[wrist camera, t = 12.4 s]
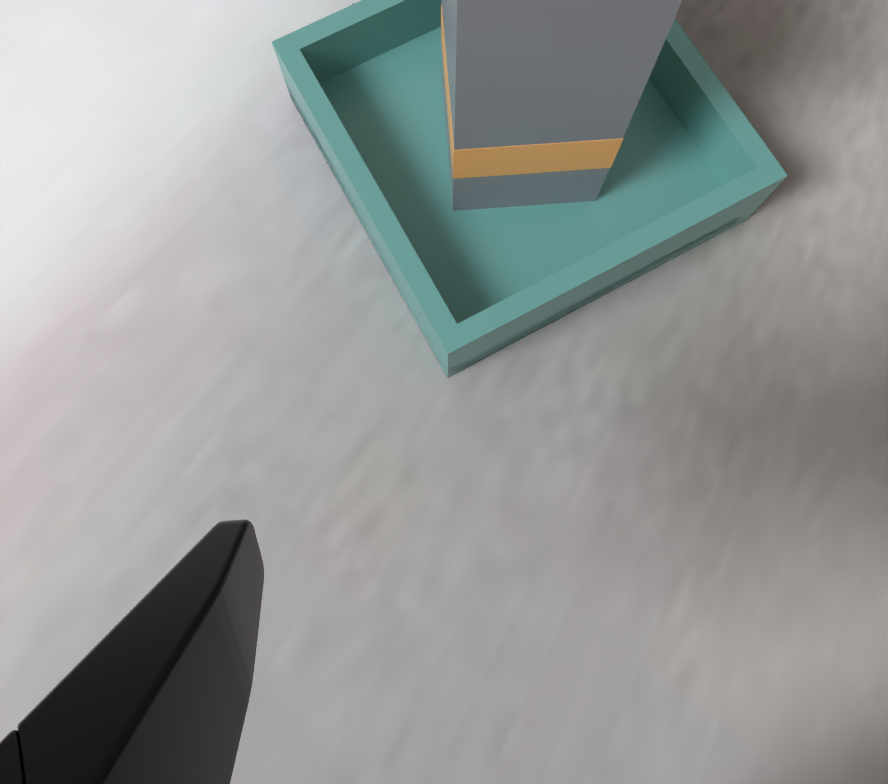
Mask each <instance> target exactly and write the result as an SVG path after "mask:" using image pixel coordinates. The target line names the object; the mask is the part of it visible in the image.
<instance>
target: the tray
mask: <svg viewBox="0 0 888 784" xmlns="http://www.w3.org/2000/svg"><path fill="white" fill-rule="evenodd" d="M441 5H442V0H362V1H360V2H357V3H355V4H353V5H351V6H349V7H347V8H344V9H342V10H340V11H338V12H336V13H333V14H331V15H329V16H327V17H325V18H323V19H320V20H318V21H316V22H314V23H312V24H310V25H307V26H305V27H303V28H301V29H299V30H296V31H294V32H292V33H290V34H288V35H286V36H283V37H281V38H279V39H277V40H275V41H273V42H272V44H273V47H274V50H275V53H276V56H277V59H278V62H279V64H280V67H281V70H282V73H283V76H284V79H285V82H286V85H287V88H288V91H289V93H290V96H291V99H292V101H293V102H294V104H295V106H296V108H297V109H298V111H299V113H300V115H301V117H302V118H303V120H304V122H305V124H306V126H307V127H308V129H309V131H310V133H311V134H312V136H313V138H314V140H315V142H316V143H317V145H318V147H319V149H320V151H321V152H322V154H323V156H324V158H325V159H326V161H327V163H328V165H329V167H330V168H331V170H332V172H333V174H334V176H335V177H336V179H337V181H338V183H339V184H340V186H341V188H342V190H343V192H344V193H345V195H346V197H347V199H348V200H349V202H350V204H351V206H352V208H353V209H354V211H355V213H356V215H357V217H358V218H359V220H360V222H361V224H362V225H363V227H364V229H365V231H366V233H367V234H368V236H369V238H370V240H371V242H372V243H373V245H374V247H375V249H376V250H377V252H378V254H379V256H380V258H381V259H382V261H383V263H384V265H385V267H386V268H387V270H388V272H389V274H390V275H391V277H392V279H393V281H394V283H395V284H396V286H397V288H398V290H399V291H400V293H401V295H402V297H403V299H404V300H405V302H406V304H407V306H408V308H409V309H410V311H411V313H412V315H413V316H414V318H415V320H416V322H417V324H418V325H419V327H420V329H421V331H422V333H423V334H424V336H425V338H426V340H427V341H428V343H429V345H430V347H431V349H432V350H433V352H434V354H435V356H436V358H437V359H438V361H439V363H440V365H441V366H442V368H443V370H444V372H445V374H446V375H447V377H450V376H451V375H453V374H455V373H457V372H459V371H461V370H463V369H465V368H467V367H469V366H470V365H472V364H474V363H476V362H478V361H480V360H482V359H484V358H486V357H487V356H489V355H491V354H493V353H495V352H497V351H499V350H501V349H503V348H504V347H506V346H508V345H510V344H512V343H514V342H516V341H518V340H520V339H521V338H523V337H525V336H527V335H529V334H531V333H533V332H535V331H537V330H538V329H540V328H542V327H544V326H546V325H548V324H550V323H552V322H554V321H556V320H557V319H559V318H561V317H563V316H565V315H567V314H569V313H571V312H573V311H574V310H576V309H578V308H580V307H582V306H584V305H586V304H588V303H590V302H591V301H593V300H595V299H597V298H599V297H601V296H603V295H605V294H607V293H608V292H610V291H612V290H614V289H616V288H618V287H620V286H622V285H624V284H625V283H627V282H629V281H631V280H633V279H635V278H637V277H639V276H641V275H643V274H644V273H646V272H648V271H650V270H652V269H654V268H656V267H658V266H660V265H661V264H663V263H665V262H667V261H669V260H671V259H673V258H675V257H677V256H678V255H680V254H682V253H684V252H686V251H688V250H690V249H692V248H694V247H695V246H697V245H699V244H701V243H703V242H705V241H707V240H709V239H711V238H712V237H714V236H716V235H718V234H720V233H722V232H724V231H726V230H728V229H729V228H731V227H733V226H735V225H737V224H739V223H741V222H743V221H745V220H747V219H748V218H749V217H750V216H751V215H752V214H753V213H754V212H755V211H756V210H757V208H758V207H759V206H760V205H761V204H762V203H763V202H764V201H765V200H766V199H767V198H768V197H769V195H770V194H771V193H772V192H773V191H774V190H775V189H776V188H777V187H778V186H779V185H780V184H781V182H782V181H783V180H784V179H785V178H786V177H787V176H788V175H787V174H786V172H785V171H784V169H783V168H782V167H781V165H780V164H779V162H778V161H777V160H776V158H775V157H774V155H773V154H772V153H771V151H770V150H769V148H768V147H767V146H766V144H765V143H764V142H763V140H762V139H761V137H760V136H759V135H758V133H757V132H756V130H755V129H754V128H753V126H752V125H751V123H750V122H749V121H748V119H747V118H746V116H745V115H744V114H743V112H742V111H741V109H740V108H739V107H738V105H737V104H736V103H735V101H734V100H733V98H732V97H731V96H730V94H729V93H728V91H727V90H726V89H725V87H724V86H723V84H722V83H721V82H720V80H719V79H718V77H717V76H716V75H715V73H714V72H713V70H712V69H711V68H710V66H709V65H708V64H707V62H706V61H705V59H704V58H703V57H702V55H701V54H700V52H699V51H698V50H697V48H696V47H695V45H694V44H693V43H692V41H691V40H690V38H689V37H688V36H687V34H686V33H685V31H684V30H683V29H682V27H681V26H680V25H679V23H678V22H677V20H676V19H674V21H673V24H672V26H671V28H670V30H669V33H668V35H667V37H666V40H665V42H664V44H663V47H662V49H661V51H660V54H659V56H658V58H657V60H656V63H655V65H654V67H653V70H652V72H651V74H650V77H649V79H648V81H647V83H646V86H645V88H644V90H643V93H642V95H641V97H640V100H639V102H638V104H637V107H636V109H635V111H634V113H633V116H632V118H631V120H630V123H629V125H628V127H627V130H626V132H625V134H624V137H623V141H622V143H621V146H620V148H619V150H618V153H617V155H616V157H615V160H614V162H613V164H612V166H611V168H610V169H609V171H608V173H607V176H606V178H605V180H604V183H603V185H602V187H601V190H600V192H599V194H598V197H597V199H596V201H587V202H572V203H558V204H544V205H530V206H515V207H501V208H487V209H473V210H458V211H453V206H452V194H451V182H450V171H449V159H448V147H447V135H446V123H445V111H444V100H443V88H442V44H441Z"/></svg>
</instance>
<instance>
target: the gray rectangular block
mask: <svg viewBox="0 0 888 784" xmlns="http://www.w3.org/2000/svg"><path fill="white" fill-rule="evenodd" d="M681 3H682V0H442V5H441V44H442V88H443V100H444V111H445V123H446V135H447V147H448V159H449V171H450V182H451V194H452V206H453V211H458V210H473V209H487V208H501V207H515V206H530V205H544V204H558V203H572V202H587V201H596V199H597V197H598V194H599V192H600V190H601V187H602V185H603V183H604V180H605V178H606V176H607V173H608V171H609V169H610V168H611V166H612V164H613V162H614V160H615V157H616V155H617V153H618V150H619V148H620V146H621V143H622V141H623V137H624V134H625V132H626V130H627V127H628V125H629V123H630V120H631V118H632V116H633V113H634V111H635V109H636V107H637V104H638V102H639V100H640V97H641V95H642V93H643V90H644V88H645V86H646V83H647V81H648V79H649V77H650V74H651V72H652V70H653V67H654V65H655V63H656V60H657V58H658V56H659V54H660V51H661V49H662V47H663V44H664V42H665V40H666V37H667V35H668V33H669V30H670V28H671V26H672V24H673V21H674V19H675V17H676V14H677V12H678V10H679V7H680V5H681Z"/></svg>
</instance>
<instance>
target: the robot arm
mask: <svg viewBox="0 0 888 784" xmlns="http://www.w3.org/2000/svg"><path fill="white" fill-rule="evenodd" d="M263 582H264V567H263V561H262V557H261V553H260V549H259V545H258V542H257V538H256V534H255V530H254V527H253V525H252V523H251V522H250V521H248V520H231V521H222V522H219V523H218V524H216V525H215V526H214V527H213V528H212V529H211V530H210V531H209V532H208V533H207V534H206V535H205V536H204V537H203V538H202V539H201V540H200V541H199V542H198V543H197V544H196V545H195V546H194V547H193V548H192V549H191V550H190V551H189V552H188V553H187V554H186V555H185V556H184V557H183V558H182V559H181V560H180V561H179V563H178V564H177V565H176V566H175V567H174V568H173V569H172V570H171V571H170V572H169V573H168V574H167V575H166V576H165V577H164V578H163V579H162V580H161V581H160V582H159V583H158V584H157V585H156V586H155V587H154V588H153V589H152V590H151V591H150V592H149V593H148V594H147V595H146V596H145V597H144V598H143V599H142V600H141V601H140V602H139V603H138V604H137V605H136V606H135V607H134V608H133V609H132V610H131V611H130V612H129V613H128V614H127V615H126V616H125V617H124V618H123V619H122V620H121V621H120V622H119V623H118V624H117V625H116V626H115V627H114V628H113V629H112V630H111V631H110V632H109V633H108V634H107V635H106V636H105V637H104V638H103V639H102V640H101V641H100V642H99V643H98V644H97V645H96V646H95V647H94V648H93V649H92V650H91V651H90V652H89V653H88V654H87V655H86V656H85V657H84V658H83V659H82V660H81V661H80V662H79V663H78V664H77V665H76V666H75V667H74V668H73V669H72V671H71V672H70V673H69V674H68V675H67V676H66V677H65V678H64V679H63V680H62V681H61V682H60V683H59V684H58V685H57V686H56V687H55V688H54V689H53V690H52V691H51V692H50V693H49V694H48V695H47V696H46V697H45V698H44V699H43V700H42V701H41V702H40V703H39V704H38V705H37V706H36V707H35V708H34V709H33V710H32V711H31V712H30V713H29V714H28V715H27V716H26V717H25V718H24V719H23V720H22V721H21V722H20V723H19V724H18V727H17V728H18V731H17V730H13V731H11V732H10V733H9V734H8V735H7V736H6V737H5V738H4V739H3V740H2V741H1V742H0V784H230V781H231V776H232V772H233V768H234V763H235V759H236V755H237V750H238V746H239V742H240V737H241V733H242V728H243V724H244V720H245V715H246V711H247V707H248V702H249V697H250V692H251V687H252V680H253V672H254V664H255V655H256V646H257V637H258V628H259V619H260V610H261V600H262V591H263Z"/></svg>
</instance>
